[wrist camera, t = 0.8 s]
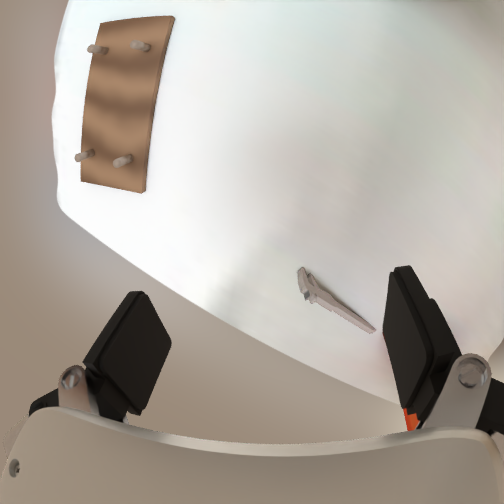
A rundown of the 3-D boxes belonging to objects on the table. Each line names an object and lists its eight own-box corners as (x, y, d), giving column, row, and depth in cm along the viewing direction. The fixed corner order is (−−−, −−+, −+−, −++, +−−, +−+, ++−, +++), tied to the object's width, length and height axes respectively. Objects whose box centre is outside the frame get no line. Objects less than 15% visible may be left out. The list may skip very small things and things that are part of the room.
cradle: (105, 24, 24) (86, 19, 20) (174, 17, 24) (160, 8, 20) (85, 179, 37) (67, 188, 33) (145, 190, 37) (129, 201, 33)
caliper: (296, 269, 41) (297, 295, 36) (302, 265, 41) (303, 290, 35) (371, 331, 46) (378, 356, 41) (376, 328, 46) (383, 353, 40)
